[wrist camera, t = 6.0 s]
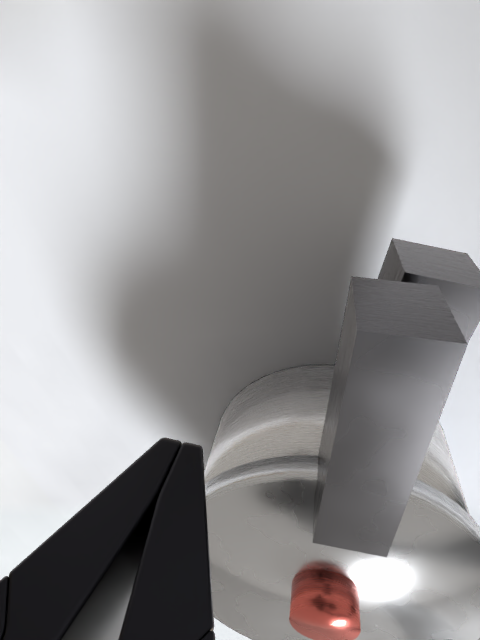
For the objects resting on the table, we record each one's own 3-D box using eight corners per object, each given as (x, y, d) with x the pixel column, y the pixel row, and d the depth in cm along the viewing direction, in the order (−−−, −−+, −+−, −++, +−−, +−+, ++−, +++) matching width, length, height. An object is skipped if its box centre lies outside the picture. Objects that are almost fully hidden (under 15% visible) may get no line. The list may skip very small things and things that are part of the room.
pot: (381, 574, 25) (391, 677, 20) (201, 525, 26) (176, 615, 21) (582, 255, 14) (692, 336, 10) (259, 190, 15) (230, 238, 11)
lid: (440, 662, 18) (454, 739, 16) (185, 604, 20) (168, 667, 18) (667, 309, 9) (768, 380, 7) (162, 256, 11) (121, 301, 9)
